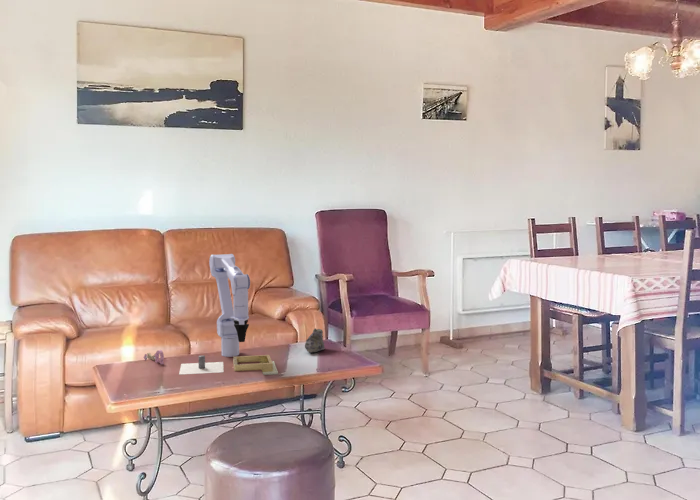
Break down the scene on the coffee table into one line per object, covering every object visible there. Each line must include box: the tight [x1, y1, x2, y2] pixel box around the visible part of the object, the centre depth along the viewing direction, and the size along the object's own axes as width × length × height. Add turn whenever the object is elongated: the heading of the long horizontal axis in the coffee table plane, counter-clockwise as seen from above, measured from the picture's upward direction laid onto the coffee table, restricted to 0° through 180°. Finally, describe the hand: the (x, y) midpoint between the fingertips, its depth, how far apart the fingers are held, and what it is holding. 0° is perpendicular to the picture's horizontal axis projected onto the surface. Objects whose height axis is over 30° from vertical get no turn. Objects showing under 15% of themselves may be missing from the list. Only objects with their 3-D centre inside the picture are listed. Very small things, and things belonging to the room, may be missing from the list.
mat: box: [261, 360, 279, 376], centre depth 252 cm, size 18×18×1 cm
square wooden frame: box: [232, 354, 273, 372], centre depth 252 cm, size 14×14×3 cm
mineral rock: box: [304, 328, 326, 353], centre depth 282 cm, size 13×11×10 cm
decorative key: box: [143, 349, 165, 365], centre depth 261 cm, size 7×1×20 cm
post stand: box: [178, 355, 224, 375], centre depth 248 cm, size 16×16×6 cm
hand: (241, 340), depth 256 cm, fingers open, 7 cm apart
